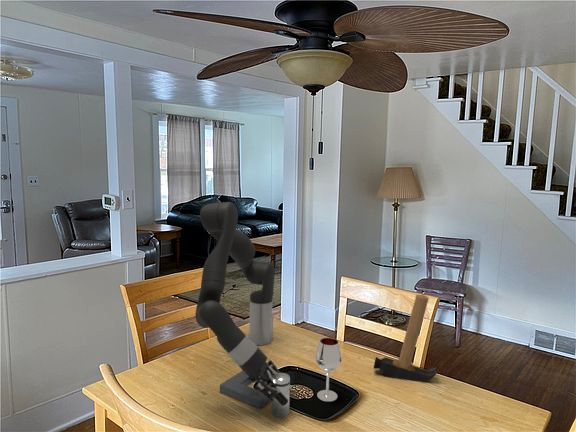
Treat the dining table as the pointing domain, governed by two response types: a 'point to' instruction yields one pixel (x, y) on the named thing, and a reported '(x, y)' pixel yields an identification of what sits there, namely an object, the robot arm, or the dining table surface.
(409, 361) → the hammer
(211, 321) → the robot arm
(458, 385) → the dining table surface
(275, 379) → the cylinder
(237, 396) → the grey square frame
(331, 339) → the wineglass
